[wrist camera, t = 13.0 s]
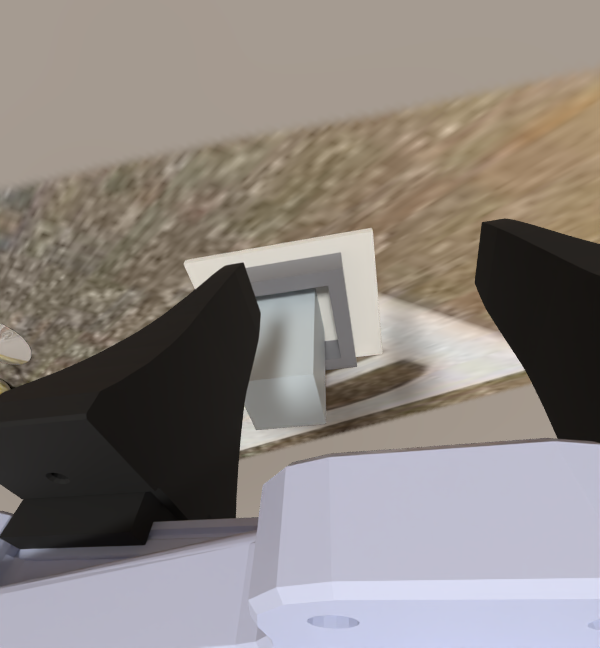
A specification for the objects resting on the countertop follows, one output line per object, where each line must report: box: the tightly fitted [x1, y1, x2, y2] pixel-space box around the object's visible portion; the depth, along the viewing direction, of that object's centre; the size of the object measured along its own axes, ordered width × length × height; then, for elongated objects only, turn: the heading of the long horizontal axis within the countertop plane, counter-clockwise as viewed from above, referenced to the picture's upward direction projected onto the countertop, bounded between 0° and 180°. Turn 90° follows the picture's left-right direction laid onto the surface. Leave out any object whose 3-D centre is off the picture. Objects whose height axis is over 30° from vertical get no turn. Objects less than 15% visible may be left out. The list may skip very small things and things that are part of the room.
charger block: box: [244, 288, 326, 430], centre depth 21 cm, size 4×4×8 cm
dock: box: [184, 228, 383, 370], centre depth 24 cm, size 12×10×2 cm
